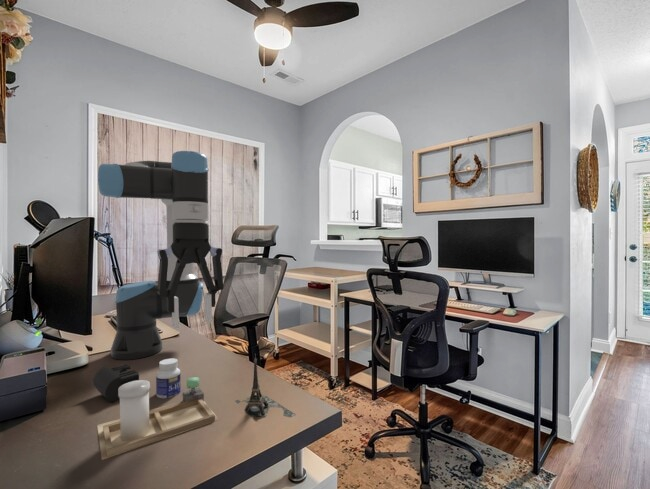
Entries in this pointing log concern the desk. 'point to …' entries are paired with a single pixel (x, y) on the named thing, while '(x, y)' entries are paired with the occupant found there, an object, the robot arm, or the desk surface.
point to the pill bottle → (168, 379)
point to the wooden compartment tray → (159, 424)
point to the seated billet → (134, 409)
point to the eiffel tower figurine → (260, 400)
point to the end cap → (113, 380)
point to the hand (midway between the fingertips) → (192, 323)
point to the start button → (192, 383)
